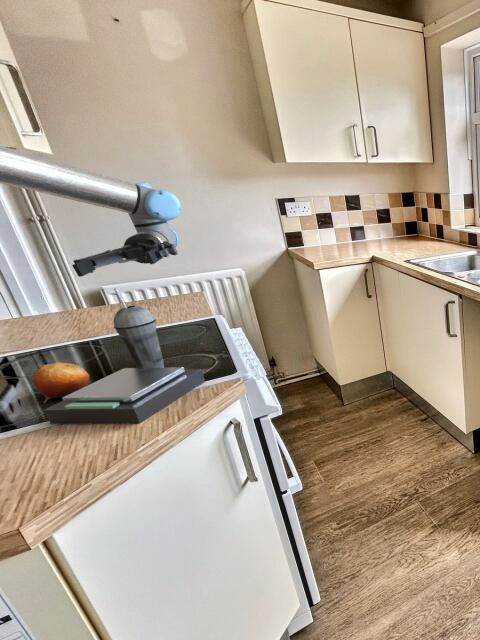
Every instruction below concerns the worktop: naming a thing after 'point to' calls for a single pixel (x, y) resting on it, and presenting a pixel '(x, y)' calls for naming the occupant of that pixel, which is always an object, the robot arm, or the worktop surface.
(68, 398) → the scale pan
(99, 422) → the scale
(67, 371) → the fruit
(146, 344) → the beverage cup
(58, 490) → the worktop surface
